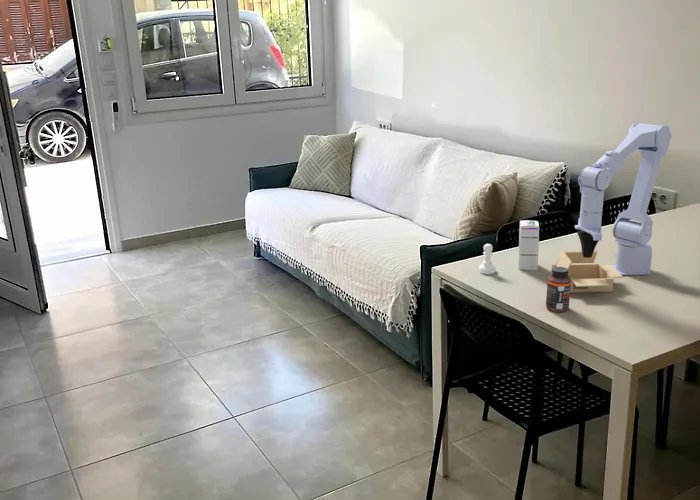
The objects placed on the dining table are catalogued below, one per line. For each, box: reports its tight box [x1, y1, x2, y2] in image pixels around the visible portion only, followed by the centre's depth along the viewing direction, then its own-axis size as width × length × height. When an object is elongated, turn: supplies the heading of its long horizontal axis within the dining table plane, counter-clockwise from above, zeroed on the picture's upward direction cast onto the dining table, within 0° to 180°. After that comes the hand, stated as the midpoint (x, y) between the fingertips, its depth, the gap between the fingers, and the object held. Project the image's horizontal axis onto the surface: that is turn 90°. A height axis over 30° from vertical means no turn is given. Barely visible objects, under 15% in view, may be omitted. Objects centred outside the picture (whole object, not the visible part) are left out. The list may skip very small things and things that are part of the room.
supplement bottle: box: [545, 267, 571, 313], centre depth 174 cm, size 6×6×11 cm
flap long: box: [554, 250, 573, 269], centre depth 188 cm, size 1×9×4 cm, turn 179°
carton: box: [550, 263, 624, 294], centre depth 188 cm, size 17×16×4 cm
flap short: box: [564, 250, 598, 264], centre depth 192 cm, size 9×1×4 cm, turn 88°
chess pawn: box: [478, 243, 497, 275], centre depth 201 cm, size 5×5×9 cm
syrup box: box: [517, 219, 540, 271], centre depth 203 cm, size 6×6×14 cm
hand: (587, 256), depth 186 cm, fingers closed
